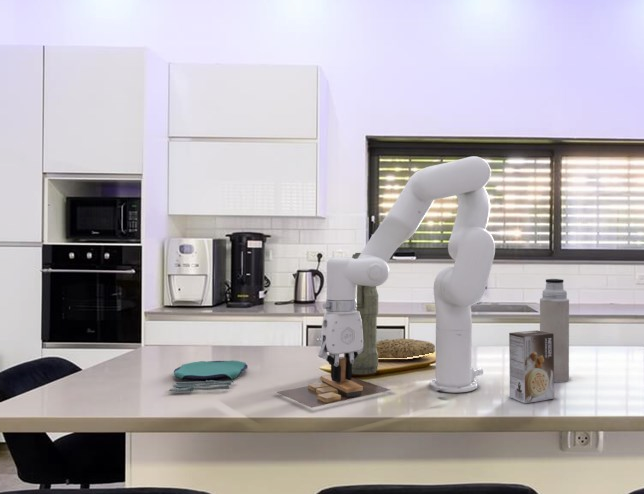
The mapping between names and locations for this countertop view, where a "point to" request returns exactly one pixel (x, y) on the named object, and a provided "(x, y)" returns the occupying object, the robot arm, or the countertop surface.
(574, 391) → the countertop surface
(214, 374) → the cutlery set
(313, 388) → the crumb
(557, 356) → the thermos bottle
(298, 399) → the tray
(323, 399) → the crumb
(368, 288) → the olive green flask
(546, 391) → the brown white upright box
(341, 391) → the wooden knob plate
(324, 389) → the crumb
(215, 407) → the countertop surface
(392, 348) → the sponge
